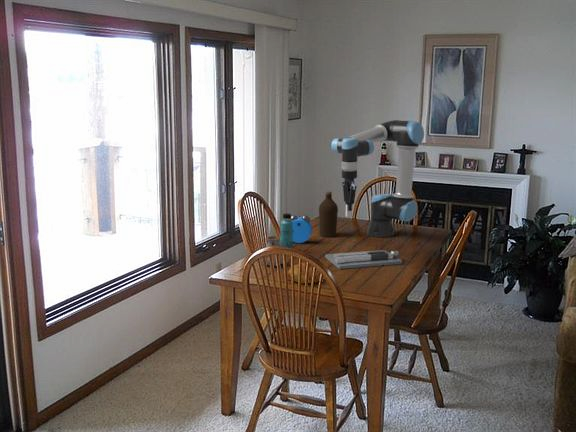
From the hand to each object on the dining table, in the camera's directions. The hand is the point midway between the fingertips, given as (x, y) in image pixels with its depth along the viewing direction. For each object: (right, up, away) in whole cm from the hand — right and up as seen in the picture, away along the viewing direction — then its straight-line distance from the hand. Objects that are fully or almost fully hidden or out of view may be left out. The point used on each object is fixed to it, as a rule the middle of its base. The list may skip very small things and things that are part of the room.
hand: (348, 216), depth 305 cm
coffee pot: (-37, -24, -18) cm, 48 cm away
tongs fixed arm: (+8, -21, -11) cm, 25 cm away
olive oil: (-8, -11, +41) cm, 43 cm away
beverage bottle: (-31, -18, +7) cm, 37 cm away
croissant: (-23, -28, -35) cm, 50 cm away
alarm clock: (-24, -14, +26) cm, 39 cm away
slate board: (+6, -21, -7) cm, 23 cm away
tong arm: (+5, -20, -9) cm, 22 cm away
